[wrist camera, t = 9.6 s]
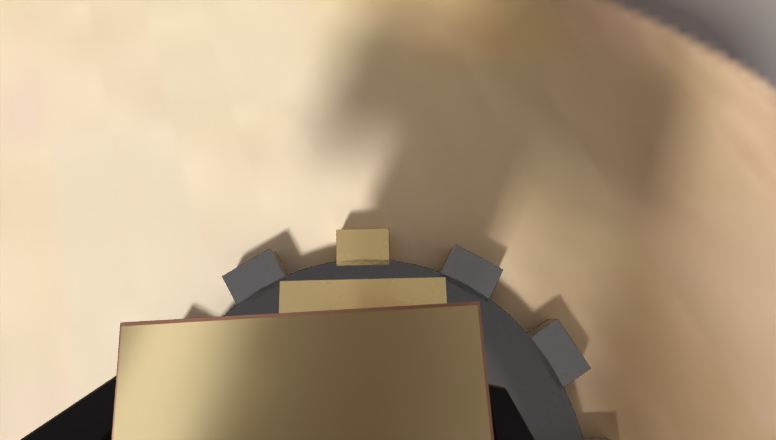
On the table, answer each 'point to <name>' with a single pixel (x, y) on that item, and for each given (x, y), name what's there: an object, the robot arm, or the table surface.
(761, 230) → the table surface
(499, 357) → the timing wheel
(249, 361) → the link block
